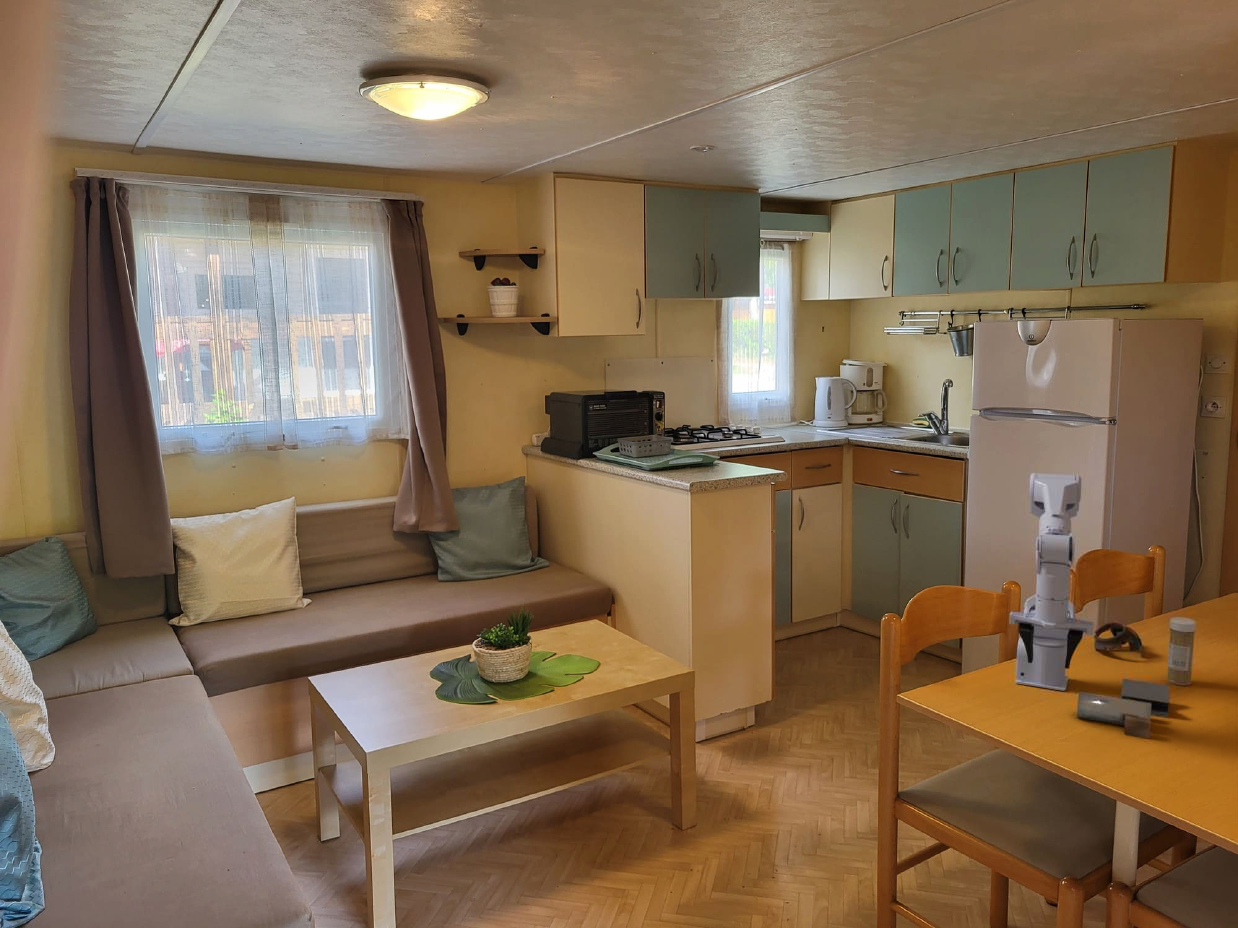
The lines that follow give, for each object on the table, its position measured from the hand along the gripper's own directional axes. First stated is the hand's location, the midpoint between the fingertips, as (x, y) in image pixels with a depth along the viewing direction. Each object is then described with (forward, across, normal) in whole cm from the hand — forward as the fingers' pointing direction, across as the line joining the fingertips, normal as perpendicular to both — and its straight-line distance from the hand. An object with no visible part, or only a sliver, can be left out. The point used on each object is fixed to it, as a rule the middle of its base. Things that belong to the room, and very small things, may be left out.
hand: (1048, 664), depth 179 cm
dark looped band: (+10, +11, +41) cm, 43 cm away
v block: (+9, +16, +10) cm, 22 cm away
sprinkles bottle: (+10, +22, +27) cm, 36 cm away
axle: (+10, +12, 0) cm, 15 cm away
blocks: (+9, +16, 0) cm, 18 cm away
